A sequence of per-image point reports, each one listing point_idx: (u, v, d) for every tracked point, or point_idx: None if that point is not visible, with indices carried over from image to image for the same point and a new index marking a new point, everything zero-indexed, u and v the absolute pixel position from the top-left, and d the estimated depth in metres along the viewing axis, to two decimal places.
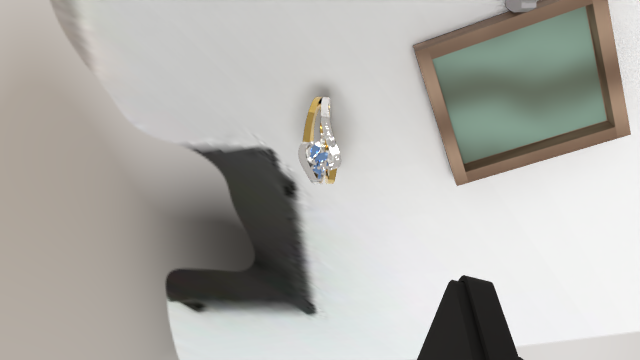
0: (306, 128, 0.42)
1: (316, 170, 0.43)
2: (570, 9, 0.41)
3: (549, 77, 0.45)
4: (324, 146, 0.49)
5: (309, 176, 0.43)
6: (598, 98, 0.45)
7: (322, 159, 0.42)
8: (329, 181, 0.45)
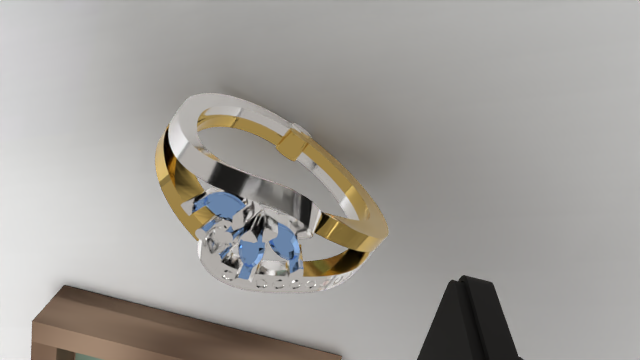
0: (348, 233, 0.14)
1: (221, 206, 0.13)
2: None
3: None
4: (254, 122, 0.19)
5: (212, 165, 0.13)
6: None
7: (244, 246, 0.13)
8: (167, 177, 0.15)
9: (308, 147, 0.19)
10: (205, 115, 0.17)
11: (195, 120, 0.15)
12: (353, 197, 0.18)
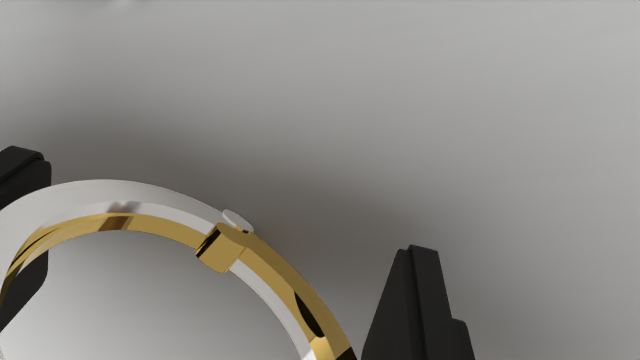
0: None
1: None
2: None
3: None
4: (155, 218, 0.12)
5: None
6: None
7: None
8: None
9: (246, 252, 0.12)
10: (52, 226, 0.10)
11: (8, 257, 0.08)
12: (317, 343, 0.11)
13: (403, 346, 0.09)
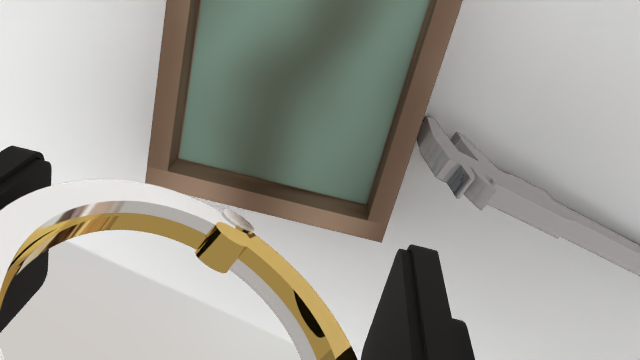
0: None
1: None
2: (378, 193, 0.27)
3: (289, 117, 0.27)
4: (155, 217, 0.12)
5: None
6: (218, 162, 0.29)
7: None
8: None
9: (246, 252, 0.12)
10: (52, 226, 0.10)
11: (8, 257, 0.08)
12: (317, 342, 0.11)
13: (403, 346, 0.09)
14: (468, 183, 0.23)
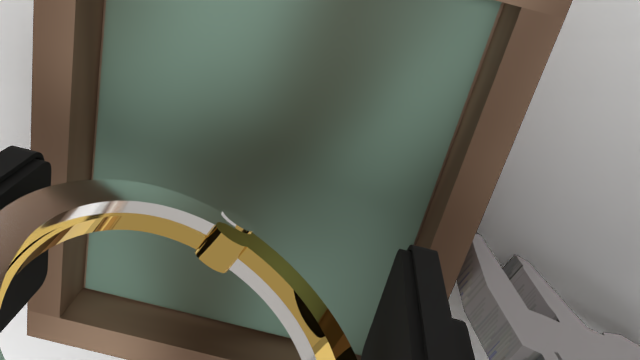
0: None
1: None
2: None
3: None
4: (155, 217, 0.12)
5: None
6: (145, 293, 0.19)
7: None
8: None
9: (246, 252, 0.12)
10: (52, 226, 0.10)
11: (7, 257, 0.08)
12: (317, 343, 0.11)
13: (403, 346, 0.09)
14: None
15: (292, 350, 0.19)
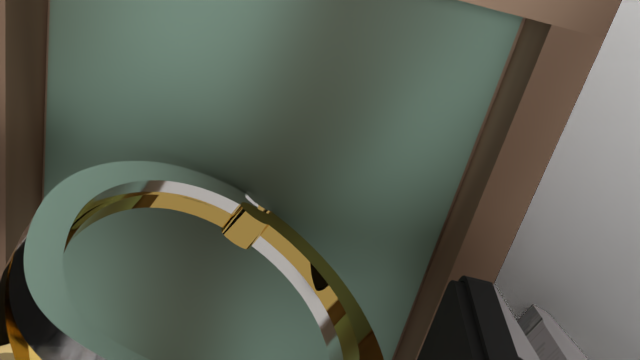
0: None
1: None
2: None
3: (229, 282, 0.15)
4: (186, 197, 0.13)
5: (63, 345, 0.07)
6: None
7: None
8: (5, 336, 0.08)
9: (268, 230, 0.13)
10: (98, 201, 0.11)
11: (67, 225, 0.09)
12: (334, 311, 0.12)
13: None
14: None
15: None
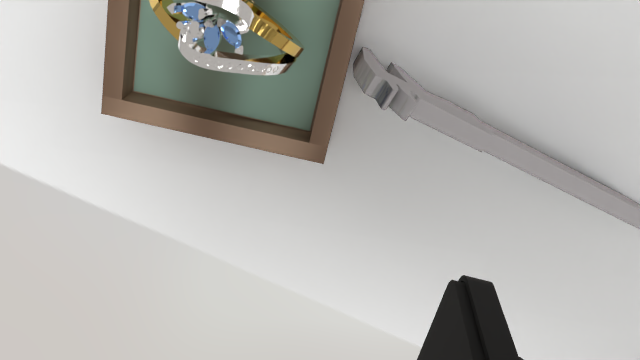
0: (272, 33, 0.23)
1: (191, 10, 0.22)
2: (318, 116, 0.29)
3: None
4: None
5: None
6: (170, 93, 0.31)
7: (207, 35, 0.22)
8: (156, 2, 0.23)
9: (253, 7, 0.28)
10: None
11: None
12: None
13: None
14: (391, 94, 0.25)
15: (260, 124, 0.31)
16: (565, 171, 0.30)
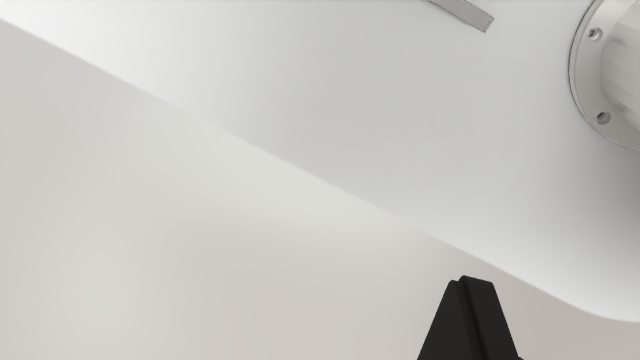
0: None
1: None
2: None
3: None
4: None
5: None
6: None
7: None
8: None
9: None
10: None
11: None
12: None
13: None
14: None
15: None
16: None
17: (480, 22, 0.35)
